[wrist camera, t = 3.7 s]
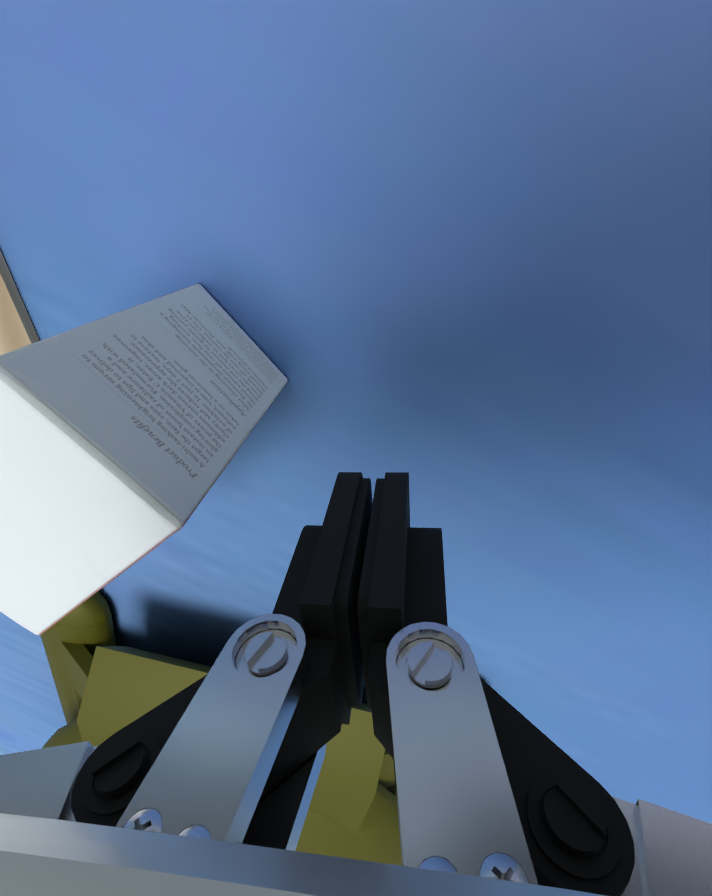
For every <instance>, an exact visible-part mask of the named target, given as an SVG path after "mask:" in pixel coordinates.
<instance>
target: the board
mask: <svg viewBox="0 0 712 896" xmlns="http://www.w3.org/2000/svg"><path fill="white" fill-rule="evenodd" d="M38 341H40V340H39V338H38V336H37V333H36V331H35V329H34V326H33V324H32V322H31V319H30V317H29V315H28V312H27V310H26V308H25V306H24V303H23V301H22V299H21V296H20V294H19V292H18V289H17V287H16V285H15V282H14V280H13V278H12V276H11V273H10V271H9V269H8V266H7V264H6V262H5V259H4V257H3V255H2V253H1V250H0V355H3V354H5V353H8V352H11V351H14V350H17V349H19V348H22V347H24V346H27V345H30V344H33V343H35V342H38Z"/></svg>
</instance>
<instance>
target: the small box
mask: <svg viewBox="0 0 712 896" xmlns="http://www.w3.org/2000/svg"><path fill="white" fill-rule="evenodd" d="M286 383H287V378H286V377H285V376H284V375H283V374H282V373H281V372H280V370H279V369H278V368H277V367H276V366H275V365H274V364H273V363H272V362H271V361H270V360H269V358H268V357H267V356H266V355H265V354H264V353H263V352H262V351H261V350H260V348H259V347H258V346H257V345H256V344H255V343H254V342H253V341H252V340H251V339H250V338H249V337H248V335H247V334H246V333H245V332H244V331H243V330H242V329H241V328H240V327H239V326H238V325H237V323H236V322H235V321H234V320H233V319H232V318H231V317H230V316H229V315H228V314H227V313H226V312H225V310H224V309H223V308H222V307H221V306H220V305H219V304H218V303H217V302H216V301H215V300H214V299H213V298H212V297H211V295H210V294H209V293H208V292H207V291H206V290H205V289H204V288H203V287H202V286H201V285H200V284H194V285H192V286H189V287H187V288H184V289H181V290H178V291H175V292H173V293H170V294H167V295H165V296H162V297H159V298H156V299H154V300H151V301H148V302H145V303H143V304H140V305H137V306H134V307H132V308H129V309H126V310H123V311H120V312H118V313H115V314H112V315H109V316H107V317H104V318H101V319H98V320H96V321H93V322H90V323H87V324H85V325H82V326H79V327H77V328H74V329H71V330H69V331H66V332H63V333H60V334H58V335H55V336H52V337H49V338H46V339H44V340H41V341H38V342H35V343H33V344H30V345H27V346H24V347H22V348H19V349H17V350H14V351H11V352H8V353H5V354H3V355H0V611H1V612H2V613H3V614H5V615H6V616H8V617H9V618H11V619H12V620H14V621H15V622H17V623H18V624H20V625H21V626H23V627H25V628H26V629H28V630H29V631H31V632H32V633H34V634H36V635H41V634H43V633H44V632H45V631H47V630H48V629H49V628H51V627H52V626H53V625H54V624H56V623H57V622H58V621H60V620H61V619H62V618H64V617H65V616H66V615H68V614H69V613H70V612H71V611H73V610H74V609H75V608H77V607H78V606H79V605H81V604H82V603H83V602H85V601H86V600H87V599H89V598H90V597H91V596H93V595H94V594H95V593H96V592H98V591H99V590H100V589H102V588H103V587H104V586H106V585H107V584H108V583H110V582H111V581H112V580H114V579H115V578H116V577H118V576H119V575H120V574H121V573H123V572H124V571H125V570H127V569H128V568H129V567H131V566H132V565H133V564H135V563H136V562H137V561H139V560H140V559H141V558H143V557H144V556H145V555H147V554H148V553H149V552H151V551H152V550H153V549H155V548H156V547H157V546H158V545H160V544H161V543H162V542H163V541H165V540H166V539H167V538H169V537H170V536H171V535H173V534H174V533H176V532H177V531H179V530H180V529H181V528H182V527H183V526H184V524H185V523H186V522H187V520H188V519H189V518H190V516H191V515H192V513H193V512H194V510H195V509H196V508H197V506H198V505H199V504H200V502H201V501H202V499H203V498H204V497H205V495H206V494H207V492H208V491H209V490H210V488H211V487H212V485H213V484H214V483H215V481H216V480H217V479H218V477H219V476H220V474H221V473H222V472H223V470H224V469H225V468H226V466H227V465H228V464H229V462H230V461H231V459H232V458H233V456H234V455H235V453H236V452H237V451H238V449H239V448H240V446H241V445H242V443H243V442H244V440H245V439H246V438H247V436H248V435H249V434H250V432H251V431H252V430H253V428H254V427H255V426H256V424H257V423H258V422H259V420H260V419H261V418H262V416H263V415H264V414H265V412H266V411H267V409H268V408H269V406H270V405H271V404H272V402H273V401H274V399H275V398H276V396H277V395H278V394H279V392H280V391H281V390H282V388H283V387H284V386H285V385H286Z"/></svg>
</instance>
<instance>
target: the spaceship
mask: <svg viewBox="0 0 712 896" xmlns="http://www.w3.org/2000/svg"><path fill="white" fill-rule="evenodd" d="M41 638H42V642H43V645H44V648H45V652H46V655H47V658H48V662H49V665H50V668H51V672H52V675H53V678H54V682H55V685H56V688H57V692H58V695H59V698H60V702H61V705H62V709H63V712H64V715H65V719H66V722H67V725H66V726H64V727H62V728H60V729H58V730H57V731H56V732H55V733H54V735H53V736H52V737H51V738H50V739H49V740H48V741H47V742H46V743H45V745H44V746H43V748H49V747H55V746H62V745H68V744H74V743H80V742H87V741H89V742H90V744H91V745H92V747H93V746H99V745H100V744H101V743H103V742H104V741H105V740H106V739H108V738H109V737H110V736H112V735H113V734H114V733H116V732H117V731H119V730H121V729H122V728H124V727H125V726H127V725H128V724H130V723H132V722H133V721H135V720H136V719H138V718H139V717H141V716H143V715H144V714H146V713H147V712H149V711H150V710H152V709H154V708H155V707H157V706H158V705H160V704H161V703H163V702H165V701H166V700H168V699H169V698H171V697H172V696H174V695H176V694H177V693H179V692H180V691H182V690H183V689H185V688H187V687H188V686H190V685H191V684H193V683H194V682H196V681H198V680H199V679H201V678H202V677H204V676H205V675H207V674H208V673H209V671H210V669H211V668H212V667H211V666H207V665H203V664H198V663H194V662H190V661H186V660H182V659H178V658H174V657H169V656H165V655H161V654H157V653H153V652H149V651H145V650H141V649H136V648H132V647H128V646H116V640H115V634H114V628H113V621H112V615H111V611H110V608H109V605H108V603H107V601H106V599H105V598H104V597H103V596H102V595H101V593H100V592H99V591H98V592H96V593H95V594H94V595H93V596H91V597H90V598H89V599H87V600H86V601H85V602H83V603H82V604H81V605H79V606H78V607H77V608H75V609H74V610H73V611H71V612H70V613H69V614H68V615H66V616H65V617H64V618H62V619H61V620H60V621H58V622H57V623H56V624H54V625H53V626H52V627H51V628H49V629H48V630H47V631H45V632H44V633H43V634H41ZM326 744H327V745H326V751H325V757H324V760H323V763H322V767H321V770H320V773H319V776H318V780H317V783H316V786H315V789H314V792H313V796H312V799H311V802H310V805H309V808H308V812H307V815H306V818H305V821H304V825H303V828H302V831H301V834H300V837H299V841H298V844H297V847H296V850H295V851H298V852H305V853H313V854H320V855H327V856H335V857H342V858H349V859H356V860H364V861H371V862H378V863H386V864H393V865H400V866H402V858H401V846H400V834H399V822H398V811H397V799H396V787H395V775H394V764H393V758H392V757H391V756H390V754H389V753H388V752H387V751H386V749H385V748H384V747H383V746H382V744H381V743H380V742H379V740H378V739H377V738H376V737H375V735H374V729H373V720H372V711H371V709H368V704H364V703H361V707H360V708H353V707H352V709H351V716H350V723H349V725H346V724H342V725H341V732H340V733H338V734H337V735H336V736H335V737H334V738H332V739H331V740H330V741H329V742H328V743H326ZM43 748H42V749H43Z"/></svg>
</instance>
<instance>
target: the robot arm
mask: <svg viewBox="0 0 712 896" xmlns="http://www.w3.org/2000/svg"><path fill="white" fill-rule="evenodd" d="M364 679H365V686H366V695H367V703H368V709H371V711H372V720H373V729H374V735H375V737H376V738H377V739H378V740H379V742H380V743H381V744H382V746H383V747H384V748H385V749H386V751H387V752H388V753H389V754H390V756H391V757H392V758H393V764H394V775H395V787H396V799H397V811H398V822H399V834H400V846H401V858H402V866H400V865H393V864H386V863H378V862H371V861H364V860H356V859H349V858H342V857H335V856H327V855H320V854H313V853H305V852H298V851H295V850H296V847H297V844H298V841H299V837H300V834H301V831H302V828H303V825H304V821H305V818H306V815H307V812H308V808H309V805H310V802H311V799H312V796H313V792H314V789H315V786H316V783H317V780H318V776H319V773H320V770H321V767H322V763H323V760H324V757H325V751H326V745H327V744H326V743H328V742H329V741H330V740H331V739H332V738H334V737H335V736H336V735H337V734H338V733H340V732H341V725H342V724H346V725H349V723H350V716H351V709H352V707H353V708H360V707H361V703H362V696H363V687H364ZM0 896H712V824H710V823H707V822H704V821H701V820H698V819H695V818H693V817H690V816H687V815H684V814H681V813H678V812H675V811H672V810H669V809H666V808H663V807H660V806H657V805H655V804H652V803H649V802H646V801H643V800H640V799H638V801H637V803H636V805H635V804H632V803H629V802H626V801H623V800H621V799H618V798H615V797H612V796H611V795H610V794H609V793H608V792H607V791H606V790H605V789H604V788H603V787H602V785H601V784H600V783H599V782H597V781H596V780H595V779H594V778H593V777H592V776H591V775H590V774H588V773H587V772H586V771H585V770H584V769H583V768H582V767H580V766H579V765H578V764H577V763H576V762H575V761H574V760H573V759H571V758H570V757H569V756H568V755H567V754H566V753H565V752H564V751H562V750H561V749H560V748H559V747H558V746H557V745H556V744H555V743H553V742H552V741H551V740H550V739H549V738H548V737H547V736H545V735H544V734H543V733H542V732H541V731H540V730H539V729H538V728H536V727H535V726H534V725H533V724H532V723H531V722H530V721H529V720H527V719H526V718H525V717H524V716H523V715H522V714H521V713H520V712H518V711H517V710H516V709H515V708H514V707H513V706H512V705H510V704H509V703H508V702H507V701H506V700H505V699H504V698H503V697H501V696H500V695H499V694H498V693H497V692H496V691H495V690H494V689H492V688H491V687H490V686H489V685H488V684H487V683H486V682H484V681H483V680H482V679H481V678H480V676H479V673H478V669H477V666H476V662H475V659H474V655H473V653H472V651H471V649H470V647H469V644H468V643H467V642H466V641H465V639H464V638H463V637H462V636H461V635H460V634H459V633H457V632H456V631H454V630H453V629H451V628H450V627H448V626H447V610H446V594H445V577H444V560H443V544H442V530H441V528H410V506H409V473H385V479H378V478H377V480H376V486H375V492H374V498H373V503H372V490H371V480H370V478H363V476H362V473H361V472H339V473H338V475H337V479H336V482H335V485H334V489H333V492H332V495H331V499H330V502H329V505H328V509H327V512H326V515H325V519H324V522H323V525H322V526H311V525H306V526H305V527H304V528H303V530H302V532H301V535H300V538H299V541H298V543H297V546H296V549H295V552H294V555H293V557H292V560H291V563H290V566H289V569H288V571H287V574H286V577H285V580H284V583H283V585H282V588H281V591H280V594H279V597H278V599H277V602H276V605H275V608H274V611H273V613H272V614H267V615H262V616H258V617H256V618H254V619H251V620H249V621H247V622H246V623H244V624H243V625H242V626H241V627H239V628H238V629H237V630H236V631H235V632H234V633H233V635H232V636H231V637H230V638H229V640H228V641H227V643H226V645H225V646H224V648H223V650H222V651H221V653H220V654H219V656H218V658H217V659H216V661H215V663H214V664H213V666H212V668H211V669H210V671H209V673H208V674H207V675H205V676H204V677H202V678H201V679H199V680H198V681H196V682H194V683H193V684H191V685H190V686H188V687H187V688H185V689H183V690H182V691H180V692H179V693H177V694H176V695H174V696H172V697H171V698H169V699H168V700H166V701H165V702H163V703H161V704H160V705H158V706H157V707H155V708H154V709H152V710H150V711H149V712H147V713H146V714H144V715H143V716H141V717H139V718H138V719H136V720H135V721H133V722H132V723H130V724H128V725H127V726H125V727H124V728H122V729H121V730H119V731H117V732H116V733H114V734H113V735H112V736H110V737H109V738H108V739H106V740H105V741H104V742H103V743H101V744H100V745H99V746H93V747H92V745H91V744H90V742H89V741H87V742H80V743H74V744H68V745H62V746H55V747H49V748H43V749H37V750H31V751H24V752H18V753H12V754H6V755H0Z"/></svg>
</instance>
